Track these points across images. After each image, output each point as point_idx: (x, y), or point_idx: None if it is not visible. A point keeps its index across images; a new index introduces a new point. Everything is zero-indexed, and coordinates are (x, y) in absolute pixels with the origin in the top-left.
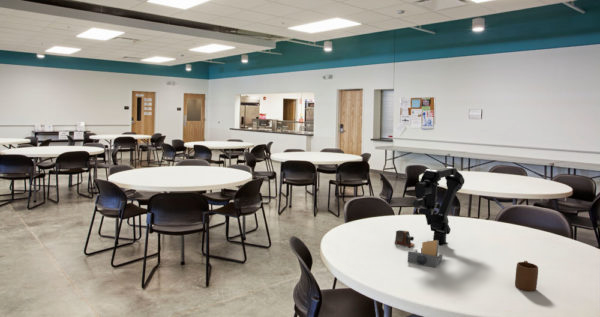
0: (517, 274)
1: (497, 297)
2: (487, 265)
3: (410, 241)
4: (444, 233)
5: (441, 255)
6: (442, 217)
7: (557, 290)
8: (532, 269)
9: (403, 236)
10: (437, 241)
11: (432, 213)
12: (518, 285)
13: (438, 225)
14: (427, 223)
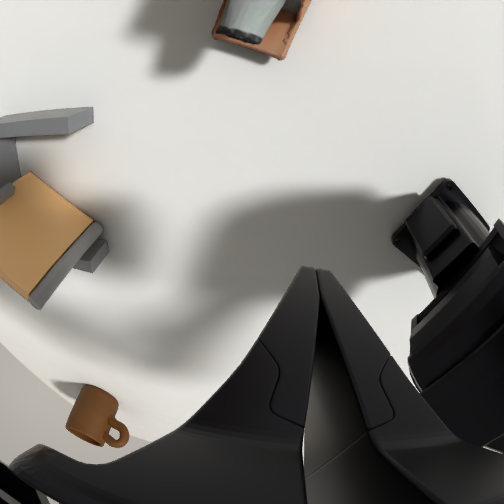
0: (74, 408)
1: (20, 343)
2: (188, 378)
3: (298, 16)
4: (416, 318)
5: (79, 269)
6: (462, 431)
7: (137, 424)
8: (73, 432)
9: None
10: (33, 300)
11: (30, 491)
12: (81, 390)
13: (435, 338)
14: (294, 281)
